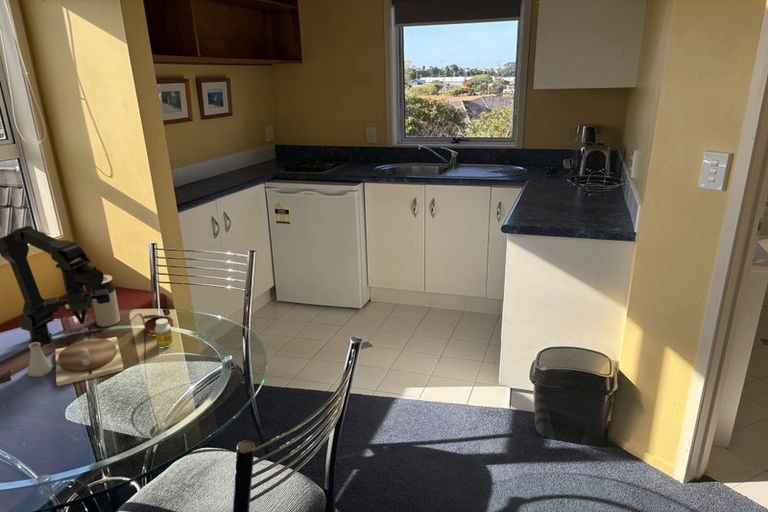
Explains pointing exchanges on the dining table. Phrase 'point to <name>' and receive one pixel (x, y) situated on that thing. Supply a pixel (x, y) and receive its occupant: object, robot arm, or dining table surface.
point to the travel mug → (106, 304)
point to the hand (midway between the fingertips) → (82, 323)
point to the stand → (71, 377)
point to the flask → (38, 362)
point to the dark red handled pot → (154, 323)
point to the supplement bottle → (163, 333)
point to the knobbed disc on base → (87, 355)
